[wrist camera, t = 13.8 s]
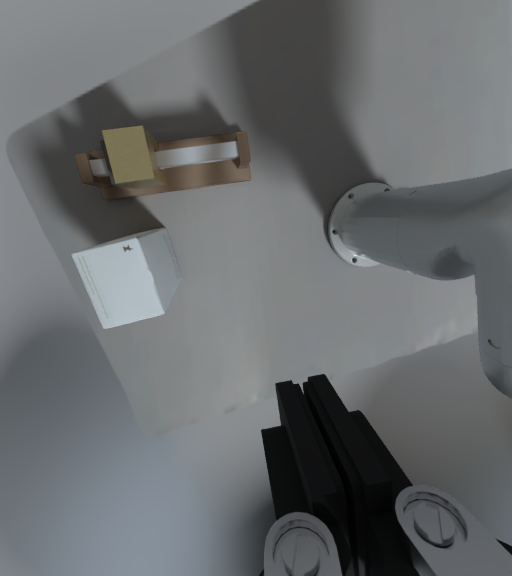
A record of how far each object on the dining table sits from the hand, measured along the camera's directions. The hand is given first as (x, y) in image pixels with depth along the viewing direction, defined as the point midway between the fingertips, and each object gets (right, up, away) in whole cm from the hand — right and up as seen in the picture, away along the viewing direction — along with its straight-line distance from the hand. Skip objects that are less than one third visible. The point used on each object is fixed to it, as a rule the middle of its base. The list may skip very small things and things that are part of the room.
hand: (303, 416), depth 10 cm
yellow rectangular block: (-15, +20, +26) cm, 36 cm away
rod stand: (-13, +21, +30) cm, 38 cm away
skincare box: (-16, +9, +33) cm, 38 cm away
